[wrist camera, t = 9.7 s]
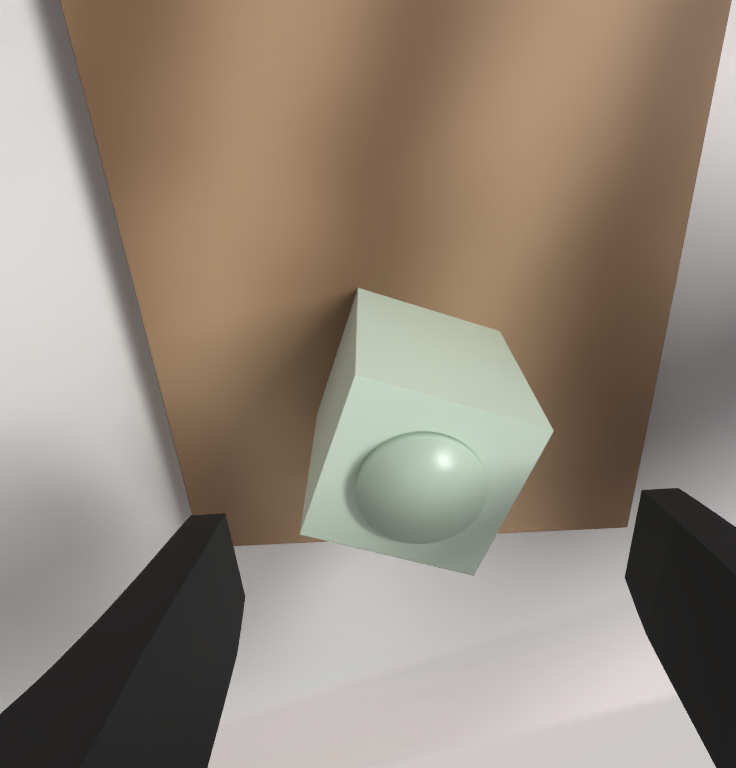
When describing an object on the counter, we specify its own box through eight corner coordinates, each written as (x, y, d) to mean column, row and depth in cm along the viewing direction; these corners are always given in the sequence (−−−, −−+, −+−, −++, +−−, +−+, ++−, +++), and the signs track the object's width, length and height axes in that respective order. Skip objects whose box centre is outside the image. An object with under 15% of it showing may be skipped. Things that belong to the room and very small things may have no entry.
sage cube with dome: (357, 287, 15) (355, 382, 10) (499, 330, 15) (557, 439, 11) (316, 413, 17) (297, 544, 12) (445, 448, 17) (475, 586, 13)
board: (767, -360, 10) (812, -410, 9) (613, 503, 20) (627, 527, 19) (11, -299, 11) (-28, -340, 10) (209, 522, 20) (201, 547, 19)
